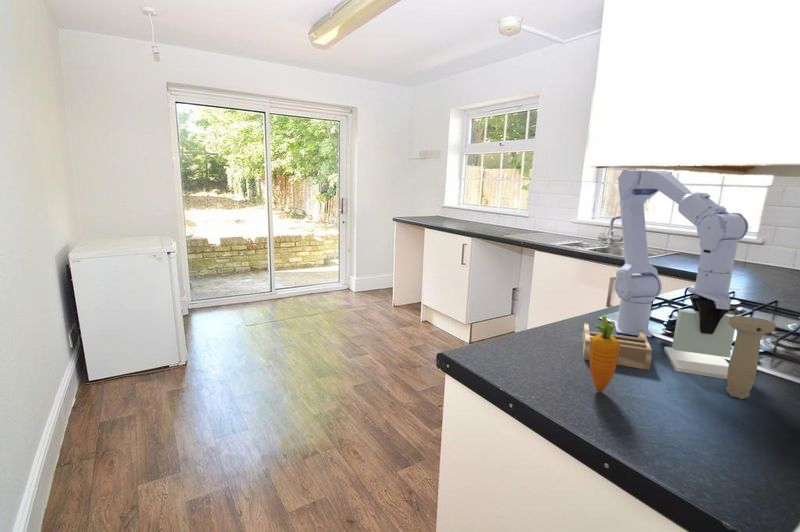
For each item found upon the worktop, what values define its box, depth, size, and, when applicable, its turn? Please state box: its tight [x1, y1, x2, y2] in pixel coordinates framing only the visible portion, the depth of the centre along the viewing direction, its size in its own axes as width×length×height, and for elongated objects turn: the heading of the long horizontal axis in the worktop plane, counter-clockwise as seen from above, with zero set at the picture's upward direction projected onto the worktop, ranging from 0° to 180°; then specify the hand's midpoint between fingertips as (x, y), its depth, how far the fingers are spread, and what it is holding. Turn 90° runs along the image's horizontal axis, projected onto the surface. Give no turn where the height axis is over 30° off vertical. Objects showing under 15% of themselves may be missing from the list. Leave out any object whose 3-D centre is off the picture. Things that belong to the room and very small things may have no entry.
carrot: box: [588, 315, 620, 393], centre depth 74 cm, size 5×5×15 cm
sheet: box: [671, 308, 736, 358], centre depth 86 cm, size 2×10×9 cm, turn 70°
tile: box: [663, 345, 729, 380], centre depth 88 cm, size 12×11×1 cm
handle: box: [725, 315, 777, 400], centre depth 73 cm, size 5×6×15 cm
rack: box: [582, 322, 653, 371], centre depth 92 cm, size 12×13×6 cm
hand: (704, 331), depth 86 cm, fingers closed on sheet, 2 cm apart
